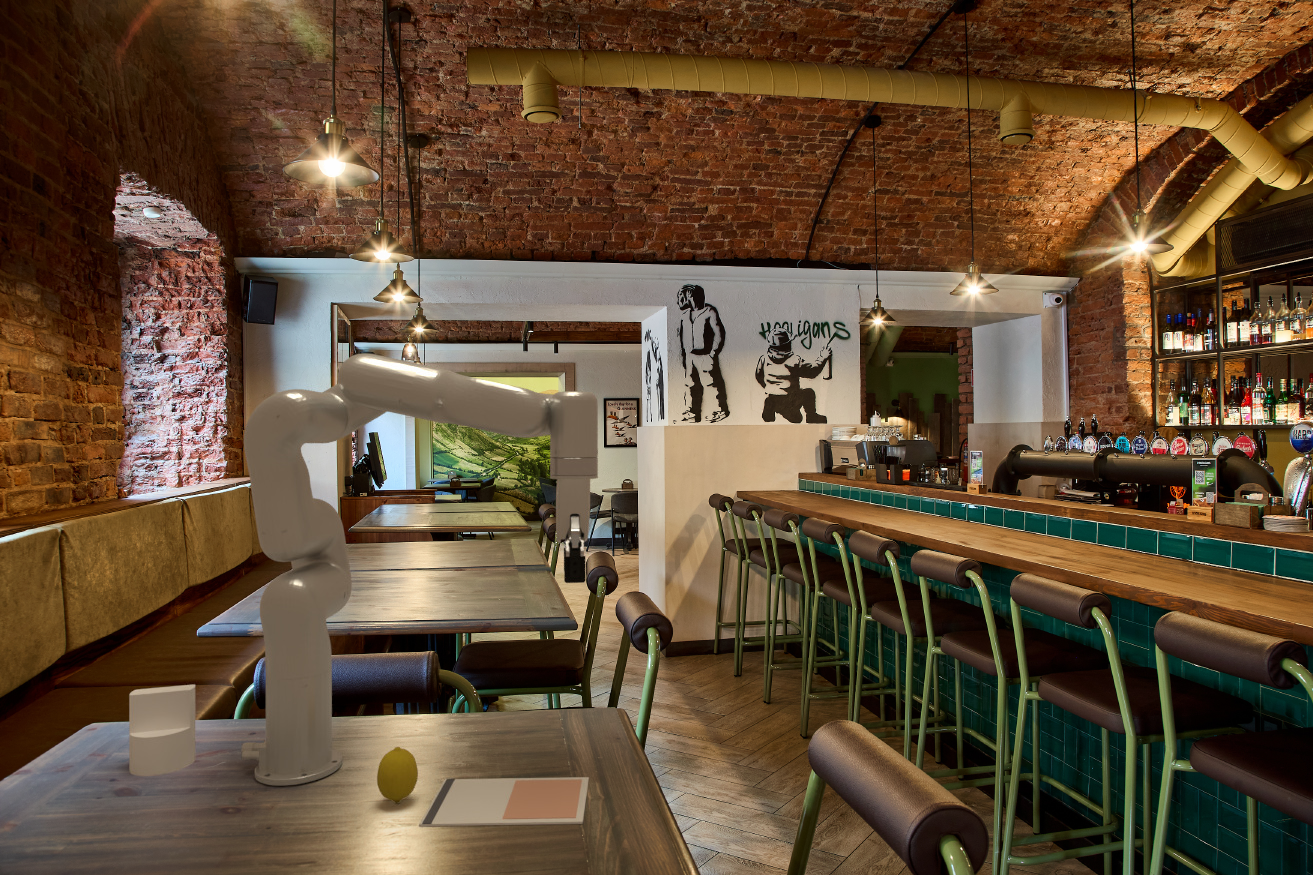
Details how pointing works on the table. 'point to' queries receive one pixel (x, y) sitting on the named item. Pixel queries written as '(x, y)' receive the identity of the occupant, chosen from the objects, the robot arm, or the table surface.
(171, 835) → the table surface
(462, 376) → the robot arm
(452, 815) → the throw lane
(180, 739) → the base with upright slab
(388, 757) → the lemon
